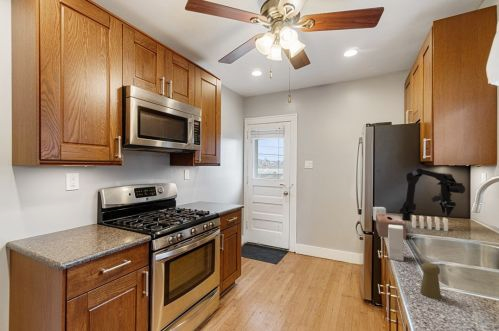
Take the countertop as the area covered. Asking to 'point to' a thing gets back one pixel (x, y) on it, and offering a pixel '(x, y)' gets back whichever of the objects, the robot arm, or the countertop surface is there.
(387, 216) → the tissue box cover
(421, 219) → the domino
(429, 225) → the domino
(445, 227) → the domino
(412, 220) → the white angular block
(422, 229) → the rubber mat
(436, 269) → the cork
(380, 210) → the small box
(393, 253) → the skincare box
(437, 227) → the domino
